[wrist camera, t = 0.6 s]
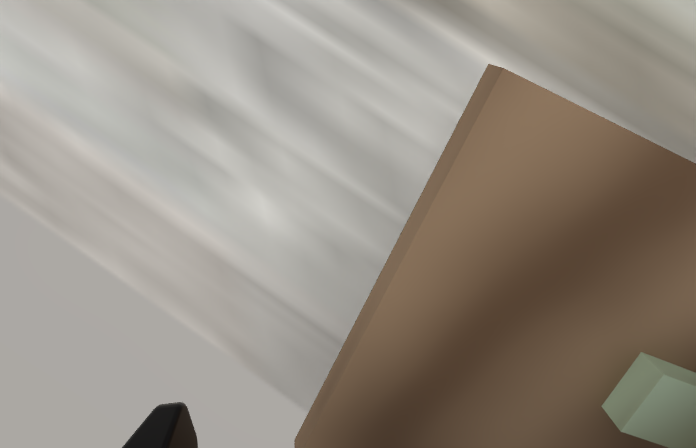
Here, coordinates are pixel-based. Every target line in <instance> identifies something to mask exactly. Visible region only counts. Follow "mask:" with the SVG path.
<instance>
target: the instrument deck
mask: <svg viewBox="0 0 696 448" xmlns="http://www.w3.org/2000/svg"><path fill="white" fill-rule="evenodd" d="M295 448H696V164H695V163H693V162H691V161H689V160H687V159H685V158H683V157H681V156H679V155H677V154H675V153H673V152H671V151H669V150H667V149H665V148H663V147H661V146H659V145H657V144H655V143H653V142H651V141H649V140H647V139H645V138H643V137H641V136H639V135H637V134H635V133H633V132H631V131H629V130H627V129H625V128H623V127H621V126H619V125H617V124H615V123H613V122H611V121H609V120H607V119H605V118H603V117H601V116H599V115H597V114H595V113H593V112H591V111H589V110H587V109H585V108H583V107H581V106H579V105H577V104H575V103H573V102H570V101H568V100H566V99H564V98H562V97H560V96H558V95H556V94H554V93H552V92H550V91H548V90H546V89H544V88H542V87H540V86H538V85H536V84H534V83H532V82H530V81H528V80H526V79H524V78H522V77H520V76H518V75H516V74H514V73H512V72H510V71H508V70H506V69H504V68H501V67H498V66H494V65H490V64H488V66H487V68H486V70H485V72H484V74H483V76H482V78H481V79H480V81H479V83H478V85H477V87H476V89H475V91H474V93H473V95H472V97H471V99H470V101H469V103H468V105H467V107H466V109H465V111H464V112H463V114H462V116H461V118H460V120H459V122H458V124H457V126H456V128H455V130H454V132H453V134H452V136H451V138H450V140H449V142H448V143H447V145H446V147H445V149H444V151H443V153H442V155H441V157H440V159H439V161H438V163H437V165H436V167H435V169H434V171H433V173H432V174H431V176H430V178H429V180H428V182H427V184H426V186H425V188H424V190H423V192H422V194H421V196H420V198H419V200H418V202H417V204H416V206H415V207H414V209H413V211H412V213H411V215H410V217H409V219H408V221H407V223H406V225H405V227H404V229H403V231H402V233H401V235H400V237H399V238H398V240H397V242H396V244H395V246H394V248H393V250H392V252H391V254H390V256H389V258H388V260H387V262H386V264H385V266H384V268H383V269H382V271H381V273H380V275H379V277H378V279H377V281H376V283H375V285H374V287H373V289H372V291H371V293H370V295H369V297H368V299H367V301H366V302H365V304H364V306H363V308H362V310H361V312H360V314H359V316H358V318H357V320H356V322H355V324H354V326H353V328H352V330H351V332H350V333H349V335H348V337H347V339H346V341H345V343H344V345H343V347H342V349H341V351H340V353H339V355H338V357H337V359H336V361H335V363H334V364H333V366H332V368H331V370H330V372H329V374H328V376H327V378H326V380H325V382H324V384H323V386H322V388H321V390H320V392H319V394H318V396H317V397H316V399H315V401H314V403H313V405H312V407H311V409H310V411H309V413H308V415H307V417H306V419H305V421H304V423H303V425H302V427H301V429H300V431H299V432H298V434H297V436H296V438H295Z"/></svg>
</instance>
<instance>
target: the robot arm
mask: <svg viewBox="0 0 696 448" xmlns="http://www.w3.org/2000/svg"><path fill="white" fill-rule="evenodd" d="M122 448H198V444H197V436H196V433H195V430H194V427H193V424H192V420H191V418H190V414H189V411H188V408H187V406H186V405H185V404H184V403H181V402H177V403H169V404H161V405H159V406H157V407H156V408H155V409H154V410H153V411H152V413H151V414H150V415H149V416H148V417H147V418H146V419H145V421H144V422H143V423H142V424H141V425H140V427H139V428H138V429H137V430H136V431H135V433H134V434H133V435H132V436H131V438H130V439H129V440H128V441H127V442H126V444H125V445H124V446H123V447H122Z"/></svg>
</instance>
